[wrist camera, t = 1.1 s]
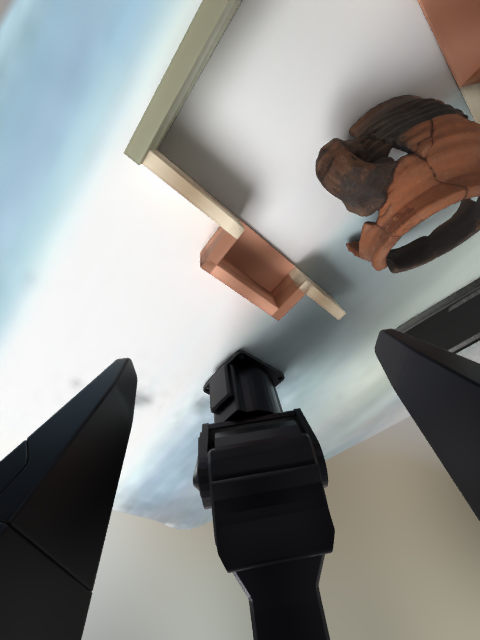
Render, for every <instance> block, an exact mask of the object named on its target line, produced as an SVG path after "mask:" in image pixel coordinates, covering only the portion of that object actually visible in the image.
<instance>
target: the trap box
mask: <svg viewBox="0 0 480 640" xmlns="http://www.w3.org/2000/svg"><path fill="white" fill-rule="evenodd" d="M241 2H242V0H203V1H202V3H201V5H200V7H199V9H198V11H197V13H196V15H195V17H194V19H193V21H192V22H191V24H190V26H189V28H188V30H187V32H186V34H185V36H184V38H183V40H182V42H181V44H180V46H179V47H178V49H177V51H176V53H175V55H174V57H173V59H172V61H171V63H170V65H169V67H168V69H167V71H166V73H165V74H164V76H163V78H162V80H161V82H160V84H159V86H158V88H157V90H156V92H155V94H154V96H153V98H152V99H151V101H150V103H149V105H148V107H147V109H146V111H145V113H144V115H143V117H142V119H141V121H140V123H139V125H138V126H137V128H136V130H135V132H134V134H133V136H132V138H131V140H130V142H129V144H128V146H127V148H126V150H125V151H124V154H125V155H127V156H128V157H129V158H131V159H132V160H133V161H134V162H136V163H137V164H138V165H140V164H143V165H144V166H145V167H147V168H148V169H149V170H150V171H152V172H153V173H154V174H156V175H157V176H158V177H159V178H161V179H162V180H163V181H164V182H166V183H167V184H168V185H169V186H171V187H172V188H173V189H174V190H176V191H177V192H178V193H179V194H181V195H182V196H183V197H184V198H186V199H187V200H188V201H189V202H191V203H192V204H193V205H194V206H196V207H197V208H198V209H200V210H201V211H202V212H203V213H205V214H206V215H207V216H208V217H210V218H211V219H212V220H213V221H215V222H216V223H217V224H218V225H220V227H219V228H218V230H217V231H216V232H215V234H214V235H213V236H212V238H211V239H210V240H209V242H208V243H207V244H206V246H205V247H204V249H203V250H202V251H201V253H200V267H201V268H202V269H203V270H205V271H206V272H208V273H209V274H211V275H212V276H214V277H215V278H217V279H218V280H220V281H221V282H223V283H224V284H225V285H227V286H228V287H230V288H231V289H233V290H234V291H236V292H237V293H239V294H240V295H242V296H243V297H244V298H246V299H247V300H249V301H250V302H252V303H253V304H255V305H256V306H258V307H259V308H261V309H262V310H264V311H265V312H266V313H268V314H269V315H271V316H272V317H274V318H275V319H277V320H278V321H279V320H280V319H281V318H282V317H283V316H284V315H285V314H286V313H287V312H288V311H289V310H290V309H291V308H292V307H293V306H294V305H295V304H296V303H297V302H298V301H299V300H300V299H301V298H302V297H303V296H304V295H305V294H306V295H308V296H309V297H310V298H311V299H313V300H314V301H315V302H316V303H318V304H319V305H320V306H321V307H323V308H324V309H325V310H327V311H328V312H329V313H330V314H332V315H333V316H334V317H335V318H337V319H338V320H340V319H341V318H342V317H343V316H344V315H345V314H346V313H345V312H344V310H343V309H342V308H341V307H340V306H339V305H338V304H337V302H336V301H335V300H334V299H333V298H332V297H331V296H330V295H329V294H328V293H326V292H325V291H324V290H323V289H322V288H321V287H319V286H318V285H317V284H316V283H315V282H313V281H312V280H311V279H310V278H309V277H308V276H306V275H305V274H304V273H303V272H302V271H300V270H299V269H298V268H297V267H296V266H294V265H293V264H292V263H291V262H290V261H289V260H287V259H286V258H285V257H284V256H283V255H281V254H280V253H279V252H278V251H277V250H275V249H274V248H273V247H272V246H271V245H270V244H268V243H267V242H266V241H265V240H264V239H262V238H261V237H260V236H259V235H258V234H256V233H255V232H254V231H253V230H252V229H251V228H249V227H248V226H247V225H246V224H245V223H243V222H242V221H241V220H240V219H239V218H237V217H236V216H235V215H234V214H233V213H232V212H230V211H229V210H228V209H227V208H226V207H224V206H223V205H222V204H221V203H220V202H218V201H217V200H216V199H215V198H214V197H213V196H211V195H210V194H209V193H208V192H207V191H205V190H204V189H203V188H202V187H201V186H199V185H198V184H197V183H196V182H195V181H194V180H192V179H191V178H190V177H189V176H188V175H186V174H185V173H184V172H183V171H182V170H181V169H179V168H178V167H177V166H176V165H175V164H173V163H172V162H171V161H170V160H169V159H167V158H166V157H165V156H164V155H163V154H162V153H160V152H159V151H158V148H159V146H160V144H161V143H162V141H163V139H164V137H165V136H166V134H167V132H168V130H169V129H170V127H171V125H172V123H173V122H174V120H175V118H176V116H177V114H178V113H179V111H180V109H181V107H182V106H183V104H184V102H185V100H186V99H187V97H188V95H189V93H190V92H191V90H192V88H193V86H194V84H195V83H196V81H197V79H198V77H199V76H200V74H201V72H202V70H203V69H204V67H205V65H206V63H207V62H208V60H209V58H210V56H211V54H212V53H213V51H214V49H215V47H216V46H217V44H218V42H219V40H220V39H221V37H222V35H223V33H224V32H225V30H226V28H227V26H228V24H229V23H230V21H231V19H232V17H233V16H234V14H235V12H236V10H237V9H238V7H239V5H240V3H241ZM418 2H419V4H420V6H421V9H422V11H423V13H424V15H425V17H426V19H427V21H428V23H429V25H430V28H431V30H432V32H433V34H434V36H435V38H436V40H437V42H438V44H439V47H440V49H441V51H442V53H443V55H444V57H445V59H446V61H447V63H448V66H449V68H450V70H451V72H452V74H453V76H454V78H455V80H456V82H457V85H458V87H459V89H460V91H461V93H462V95H463V97H464V99H465V101H466V104H467V106H468V108H469V110H470V112H471V114H472V116H473V118H474V120H475V122H476V123H478V124H480V0H418Z"/></svg>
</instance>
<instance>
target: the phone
mask: <svg viewBox="0 0 480 640" xmlns="http://www.w3.org/2000/svg"><path fill="white" fill-rule="evenodd" d="M395 330H397V331H400V332H402V333H405V334H407V335H409V336H412V337H414V338H417V339H419V340H422V341H424V342H427V343H429V344H432V345H434V346H437V347H439V348H442V349H444V350H447V351H449V352H452V353H454V354H456V353H458V352H460V351H461V350H463V349H465V348H467V347H469V346H471V345H472V344H474V343H476V342H478V341H480V278H479V279H477V280H475V281H474V282H472V283H471V284H469V285H467V286H466V287H464V288H462V289H461V290H459V291H457V292H456V293H454V294H452V295H451V296H449V297H447V298H446V299H444V300H442V301H441V302H439V303H437V304H436V305H434V306H432V307H431V308H429V309H427V310H426V311H424V312H422V313H421V314H419V315H417V316H416V317H414V318H413V319H411V320H409V321H408V322H406V323H404V324H403V325H401V326H399V327H398V328H396V329H395Z"/></svg>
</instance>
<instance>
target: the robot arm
mask: <svg viewBox="0 0 480 640" xmlns="http://www.w3.org/2000/svg"><path fill="white" fill-rule="evenodd" d="M375 353H376V355H377V357H378V359H379V361H380V363H381V365H382V367H383V369H384V371H385V373H386V375H387V377H388V379H389V381H390V383H391V385H392V386H393V388H394V390H395V392H396V393H397V395H398V396H399V398H400V399H401V401H402V403H403V404H404V406H405V407H406V409H407V410H408V412H409V413H410V415H411V416H412V418H413V419H414V421H415V422H416V424H417V426H418V427H419V429H420V430H421V432H422V433H423V435H424V436H425V438H426V439H427V441H428V443H429V444H430V446H431V447H432V448H433V450H434V452H435V453H436V455H437V456H438V458H439V459H440V461H441V463H442V464H443V465H444V467H445V469H446V470H447V472H448V473H449V475H450V476H451V478H452V479H453V481H454V483H455V484H456V486H457V487H458V489H459V490H460V492H461V493H462V495H463V496H464V498H465V500H466V501H467V503H468V504H469V506H470V507H471V509H472V510H473V512H474V513H475V515H476V516H477V518H478V520H479V521H480V364H479V363H477V362H474V361H472V360H469V359H467V358H464V357H462V356H459V355H457V354H454V353H452V352H449V351H447V350H444V349H442V348H439V347H437V346H434V345H432V344H429V343H427V342H424V341H422V340H419V339H417V338H414V337H412V336H409V335H407V334H405V333H402V332H400V331H397V330H395V329H385V330H381V331H380V332H379V335H378V338H377V342H376V345H375ZM239 355H242V356H239ZM284 378H285V377H284V374H283V373H282V372H280V371H278V370H276V369H275V368H273V367H271V366H269V365H268V364H266V363H264V362H262V361H261V360H259V359H257V358H255V357H254V356H252V355H250V354H248V353H246V352H245V351H242V350H240V351H237V352H236V353H235V354H234V355H233V356H232V357H231V358H230V359H229V360H228V361H227V362H226V363H225V364H223V365H222V366H221V367H220V368H219V369H218V371H217V372H216V373H215V374H214V375H213V376H212V377H211V378H210V379H209V381H208V382H207V383H206V384H205V385H204V387H203V391H204V392H205V393H207V394H209V395H210V409H211V412H212V413H214V423H213V424H209V423H206V424H203V425H202V432H200V437H199V438H198V459H197V463H196V467H195V471H194V475H193V485H194V486H195V487H196V488H197V489H198V490H199V491H200V496H201V498H202V502H203V506H204V508H205V509H209V508H212V516H213V526H214V536H215V543H216V546H217V550H218V555H219V557H220V558H221V561H222V563H223V564H224V567H225V568H226V570H227V572H228V573H231V572H232V573H233V574H234V576H235V577H236V579H237V581H238V582H239V584H240V586H241V587H242V589H243V590H244V592H245V594H246V595H247V597H248V599H249V605H250V613H251V621H252V629H253V638H254V640H330V637H329V633H328V628H327V624H326V619H325V615H324V610H323V605H322V601H321V596H320V592H319V585H318V584H319V579H320V575H321V570H322V565H323V560H324V556H325V554H327V553H331V552H332V551H333V544H334V533H335V530H334V526H333V522H332V519H331V516H330V512H329V508H328V504H327V500H326V495H325V491H324V488H325V487H327V486H328V474H327V468H326V463H325V459H324V455H323V452H322V449H321V447H320V444H319V442H318V440H317V438H316V436H315V434H314V433H313V431H312V429H311V427H310V425H309V424H308V422H307V420H306V418H305V417H304V415H303V413H302V411H301V409H300V408H298V409H294V410H292V411H286V412H283V410H282V407H281V404H280V401H279V398H278V394H277V391H276V388H275V387H276V386H277V385H278V384H279V383H281V382H282V381H283V380H284ZM207 388H209V389H207ZM136 389H137V375H136V372H135V369H134V366H133V363H132V361H131V359H130V358H122V359H117V360H116V361H114V362H113V363H112V364H111V365H110V366H109V367H108V368H106V369H105V370H104V371H103V372H102V373H101V374H100V375H99V376H97V377H96V378H95V379H94V380H93V381H92V382H91V383H89V384H88V385H87V386H86V387H85V388H84V389H83V390H81V391H80V392H79V393H78V394H77V395H76V396H75V397H73V398H72V399H71V400H70V401H69V402H68V403H67V404H66V405H64V406H63V407H62V408H61V409H60V410H59V411H58V412H56V413H55V414H54V415H53V416H52V417H51V418H50V419H48V420H47V421H46V422H45V423H44V424H43V425H42V426H40V427H39V428H38V429H37V430H36V431H35V432H34V433H33V434H31V435H30V436H29V437H28V438H27V440H25V441H23V442H22V443H21V444H20V445H19V446H18V447H16V448H15V449H14V450H13V451H12V452H11V453H10V454H8V455H7V456H6V457H5V458H4V459H3V460H1V461H0V640H81V638H82V634H83V630H84V625H85V621H86V617H87V612H88V609H89V605H90V600H91V595H92V592H91V591H92V590H93V587H94V583H95V579H96V574H97V570H98V566H99V562H100V557H101V553H102V549H103V545H104V541H105V536H106V532H107V528H108V524H109V520H110V516H111V511H112V507H113V503H114V499H115V495H116V490H117V486H118V482H119V478H120V474H121V469H122V465H123V461H124V457H125V453H126V448H127V444H128V440H129V436H130V432H131V427H132V422H133V415H134V406H135V397H136Z"/></svg>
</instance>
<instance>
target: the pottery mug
mask: <svg viewBox="0 0 480 640" xmlns="http://www.w3.org/2000/svg"><path fill="white" fill-rule="evenodd" d="M349 133H350V134H351V136H353V137H355V139H353V140H350V141H343V140H341V139H338V138H334V139H332V140H331V141H330V142H328V143H327V144H326V145H324V146H323V147H322V148H321V149H320V152H319V155H318V158H317V160H316V175H317V178H318V179H319V181H320V182H321V184H322V185H323V187H324V188H325V189H326V190H327V191H328V192H330V193H331V194H332V195H334V196H335V197H337V198H339V199H340V200H342V202H343V203H344V205H345V206H346V209H347V210H348V211H349V212H352V213H355V214H357V215H359V216H369V215H372V214H373V213H375V211H377V210H379V216H378V218H377V221H376V222H370V221H367V222H365V223H364V225H363V227H362V232H361V238H360V241H359V242H358V241H355V242H349V243H347V244H346V246H347V247H348V250H349V251H350V252H352V253H353V254H354V255H355V256H357V257H359V258H361V259H364V260H367V261H372V266H373V267H374V268H375V269H376V270H377V271H380V270H382V269H385V268H386V267H387V266H388V267H389V270H390V271H391V272H392V273H398V272H403V271H407V270H410V269H413V268H416V267H418V266H421V265H423V264H426V263H428V262H430V261H432V260H434V259H435V258H437V257H439V256H441V255H443V254H445V253H447V252H449V251H451V250H452V249H453V248H455V247H456V246H458V245H460V244H461V243H463V242H464V241H466V240H467V239H469V238H470V237H471V236H473V235H474V234H475V233H477V232H478V231H479V230H480V124H478V123H476V122H473V121H470V120H468V116H467V115H464V113H463V112H462V111H461V110H460V109H454V108H453V107H452V106H451V105H448V104H445V103H443V102H442V101H440V100H435V99H432V98H429V99H423V98H420V97H417V96H411V95H404V96H400V97H394V98H392V99H390V100H388V101H385V102H383V103H381V104H379V105H377V106H376V107H374V108H372V109H371V110H370V111H368V112H367V113H366V114H365V115H364V116H363V117H362V118H361V119H359V120H358V121H357V122H356V123H355V124H354V125H353V127H352V128H351V129H350V131H349ZM393 147H394V148H396V149H399V150H401V151H404V152H407V153H408V154H407V155H406V156H403V157H401V158H399V159H398V160H397V161H394V159H393V158H391V157H388V154H389V152H390V150H391V148H393ZM478 196H479V197H478ZM471 197H478V199H477V201H476V202H475V201H473V200H471V199H470V198H471ZM461 200H462V201H461ZM459 201H461V204H460V207H459V208H458V210H457V212H456V213H455V214H454V215H453V216H452V217H451V218H450V219H449V220H447V221H446V222H444V223H443V224H442V225H440V226H438V227H437V228H436V229H435V230H434V231H433V232H432V233H431V234H430V235H429V236H422V237H420V238H418V239H416V240H414V241H412V242H411V243H409V244H407V245H405V246H402V247H400V248H397V249H392V250H391V248H392V247H393V246H394V245H395V244H396V242H397V241H398V240H399V239H400V238H401V236H402V235H404V234H405V233H407V232H408V231H409V230H411V229H412V228H413V227H415V226H416V225H418V224H419V223H420V222H422V221H423V220H425V219H427V218H428V217H430V216H431V215H433V214H435V213H436V212H438V211H440V210H442V209H444V208H446V207H447V206H449V205H452V204H454V203H457V202H459Z"/></svg>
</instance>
